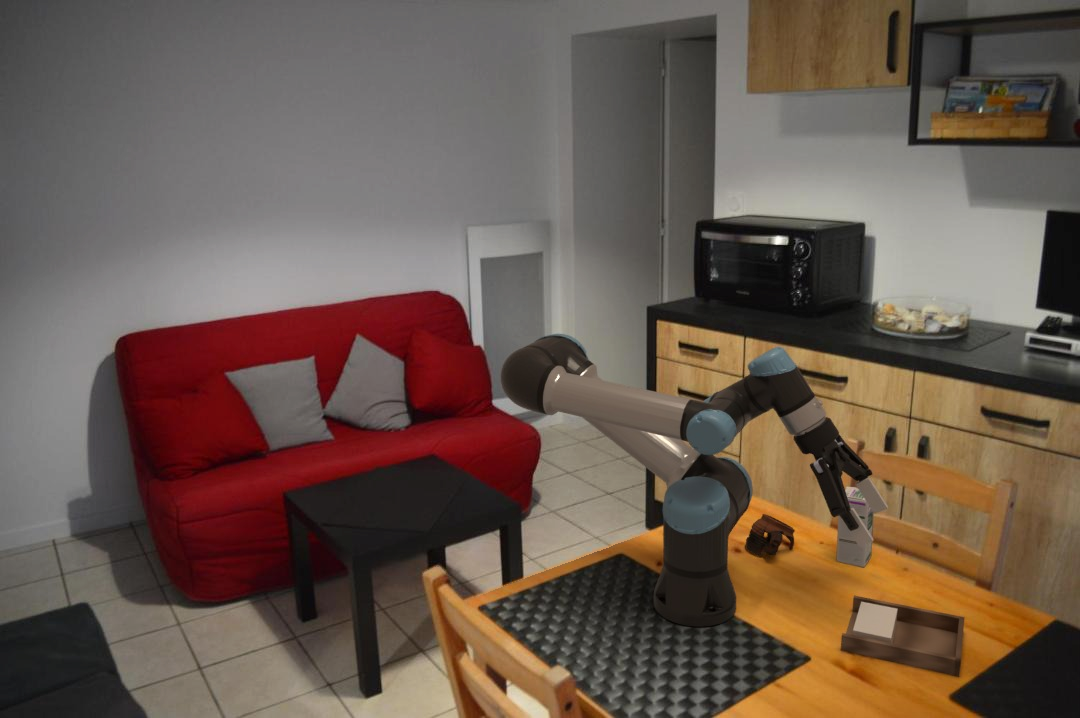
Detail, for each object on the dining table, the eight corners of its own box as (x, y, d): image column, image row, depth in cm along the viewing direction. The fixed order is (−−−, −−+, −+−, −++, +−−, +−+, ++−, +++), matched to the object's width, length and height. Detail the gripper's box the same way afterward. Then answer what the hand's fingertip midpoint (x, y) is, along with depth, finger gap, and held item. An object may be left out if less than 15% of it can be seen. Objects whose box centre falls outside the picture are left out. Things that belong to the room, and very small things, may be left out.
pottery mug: (737, 542, 192) (754, 507, 192) (777, 561, 191) (794, 526, 191) (749, 555, 180) (767, 518, 179) (792, 575, 179) (810, 538, 179)
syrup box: (865, 568, 178) (869, 500, 174) (834, 561, 181) (838, 495, 177) (871, 556, 183) (876, 490, 179) (842, 549, 186) (845, 485, 182)
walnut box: (840, 656, 150) (841, 635, 149) (852, 615, 162) (854, 595, 161) (958, 683, 142) (960, 661, 141) (962, 637, 154) (964, 617, 153)
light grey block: (851, 646, 150) (852, 630, 150) (860, 616, 159) (861, 601, 158) (889, 654, 148) (891, 638, 147) (896, 624, 156) (897, 608, 155)
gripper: (809, 442, 149) (879, 550, 149) (843, 395, 170) (905, 490, 169) (772, 459, 154) (840, 565, 153) (809, 412, 174) (869, 505, 173)
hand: (874, 526), depth 161 cm, fingers open, 13 cm apart
